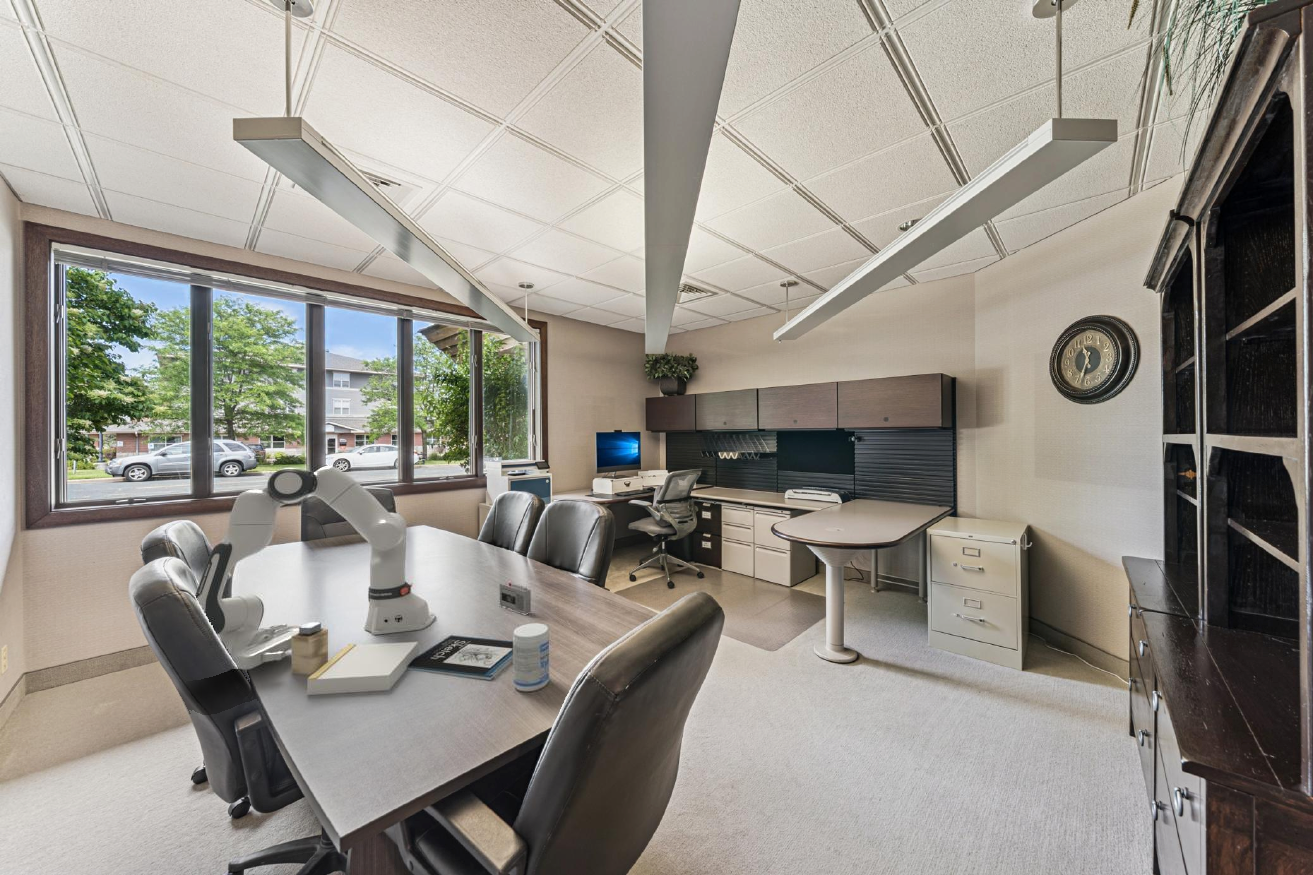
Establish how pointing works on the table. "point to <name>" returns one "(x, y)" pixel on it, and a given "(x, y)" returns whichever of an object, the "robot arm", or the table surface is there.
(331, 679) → the white square slab
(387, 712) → the table surface
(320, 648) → the wooden block
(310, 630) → the metal block
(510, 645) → the sketchbook
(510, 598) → the cassette player
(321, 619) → the table surface
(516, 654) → the supplement tub
